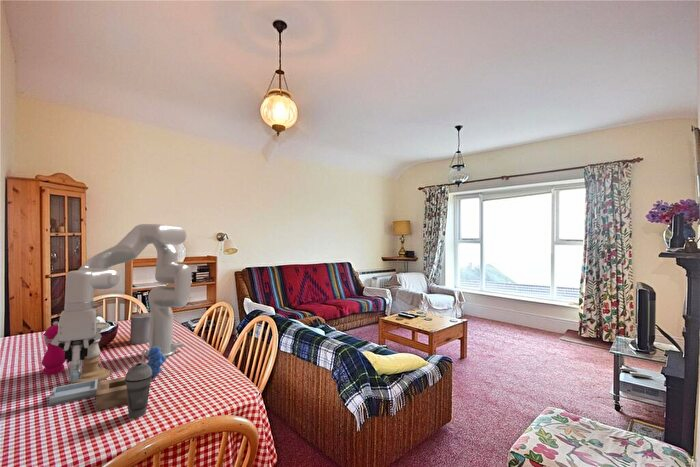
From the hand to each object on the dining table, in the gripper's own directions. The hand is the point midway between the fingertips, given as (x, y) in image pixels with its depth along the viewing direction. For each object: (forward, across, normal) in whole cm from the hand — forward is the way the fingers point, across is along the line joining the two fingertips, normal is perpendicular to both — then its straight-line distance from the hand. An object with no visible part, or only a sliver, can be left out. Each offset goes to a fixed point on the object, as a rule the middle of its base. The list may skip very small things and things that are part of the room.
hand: (76, 359), depth 109 cm
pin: (+7, 0, 0) cm, 7 cm away
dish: (+12, 0, 0) cm, 12 cm away
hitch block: (+12, -12, +10) cm, 20 cm away
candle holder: (+12, -4, -14) cm, 19 cm away
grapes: (+12, -25, -3) cm, 28 cm away
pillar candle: (+12, -23, -54) cm, 60 cm away
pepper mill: (+12, +8, -29) cm, 33 cm away
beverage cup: (+13, -17, +25) cm, 32 cm away
